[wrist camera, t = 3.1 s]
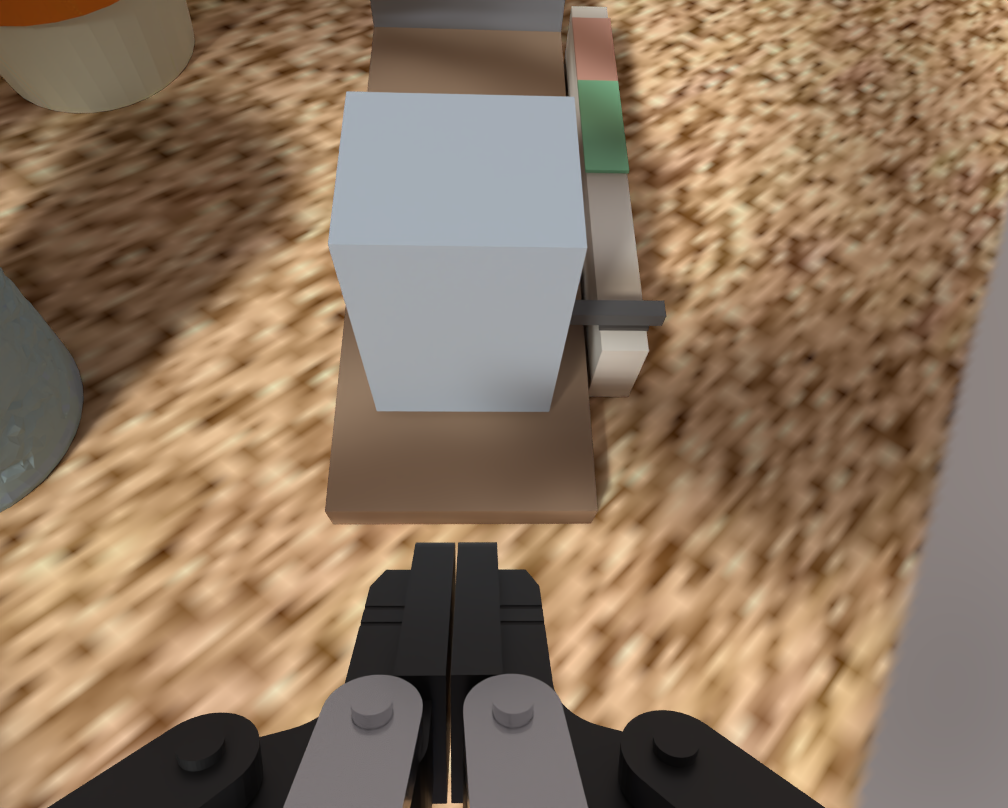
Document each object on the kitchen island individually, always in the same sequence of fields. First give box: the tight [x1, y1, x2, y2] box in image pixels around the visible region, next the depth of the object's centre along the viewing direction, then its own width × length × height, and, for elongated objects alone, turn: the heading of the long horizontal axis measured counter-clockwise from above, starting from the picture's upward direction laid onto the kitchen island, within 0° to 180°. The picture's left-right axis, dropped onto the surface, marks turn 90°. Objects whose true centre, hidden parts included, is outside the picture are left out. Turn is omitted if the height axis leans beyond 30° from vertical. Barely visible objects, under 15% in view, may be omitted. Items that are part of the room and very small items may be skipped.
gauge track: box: [325, 0, 649, 524], centre depth 25 cm, size 28×11×12 cm, turn 1°
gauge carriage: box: [328, 92, 666, 412], centre depth 22 cm, size 8×10×9 cm
